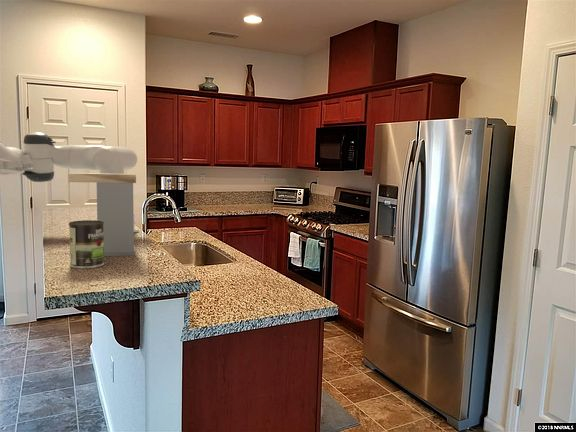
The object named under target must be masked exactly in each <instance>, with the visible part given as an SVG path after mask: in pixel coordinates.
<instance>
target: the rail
mask: <svg viewBox="0 0 576 432" xmlns="http://www.w3.org/2000/svg"><path fill="white" fill-rule="evenodd" d="M97 182H98V183H133V184H136V183H137V174H136V173H124V174H101V173H100V172H99V173H98V172H97V173H96V172H95V173H94V172H93V173H92V172H91V173H89V172H68V183H97Z"/></svg>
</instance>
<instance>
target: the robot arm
mask: <svg viewBox="0 0 576 432" xmlns="http://www.w3.org/2000/svg"><path fill="white" fill-rule="evenodd" d="M23 144H24V148H23V150H22V149H20V148H18V147H14V146H5V145H4V144H3V143H2V142H1V141H0V175H1V176H2V175H16V174H17V175H18V174H22V175H23V176H25V177H26V178H27V179H28V180H29V181H31V182H33V183H34V182H35V183H38V184H43V183H48V182H51V181H52V180H54V177H55V171H54V169H55V166H57V167H59V168H63V169H70V170H82V171H83V170H85V171H86V170H87V171H99V173H101V174H125V172H126V171H129V170H131V169H132V168H133V169H134V167H136V165H137V163H138V156H137V154H136V152H135V150H133V149H130V148H129V147H127V146H126V147H125V146H113V145H112V146H110V145H109V146H108V145H106V146H105V145H90V144H89V145H88V144H87V145H83V144H82V145H81V144H65V145H55V144H57V142H56V140H53V138H52V137H51V136H49V135H48V134H46V133H43V132H39V131H34V132H30V133H28V134H26V135H24V137H23ZM133 216H134V217H135V213H133ZM134 233H140V229H139V228H137V227H136V221H135V218H134Z"/></svg>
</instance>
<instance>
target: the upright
mask: <svg viewBox="0 0 576 432" xmlns="http://www.w3.org/2000/svg"><path fill="white" fill-rule="evenodd" d="M133 214H134V183H98V182H96V218H97V219H96V221H102V222H104V225H103V234H104V257H125V256H124V255H127V256H136V246H135V241H134V240H135V239H134V237H135V232H134V219H135V215H134V216H133Z"/></svg>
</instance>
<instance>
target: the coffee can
mask: <svg viewBox="0 0 576 432" xmlns="http://www.w3.org/2000/svg"><path fill="white" fill-rule="evenodd" d="M103 225H104V222H102V221H97V220H91V219H90V220H89V219H88V220H87V219H86V220H85V219H84V220H74V221H69V222H68V227H69V249H70V250H69V257H70V258H69V259H70V261H69V262H70V263H69V264H70V267H71V268H74V269H82V270H83V269H94V268H99V267H102V266H104V265H105V256H104V234H103Z"/></svg>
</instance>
